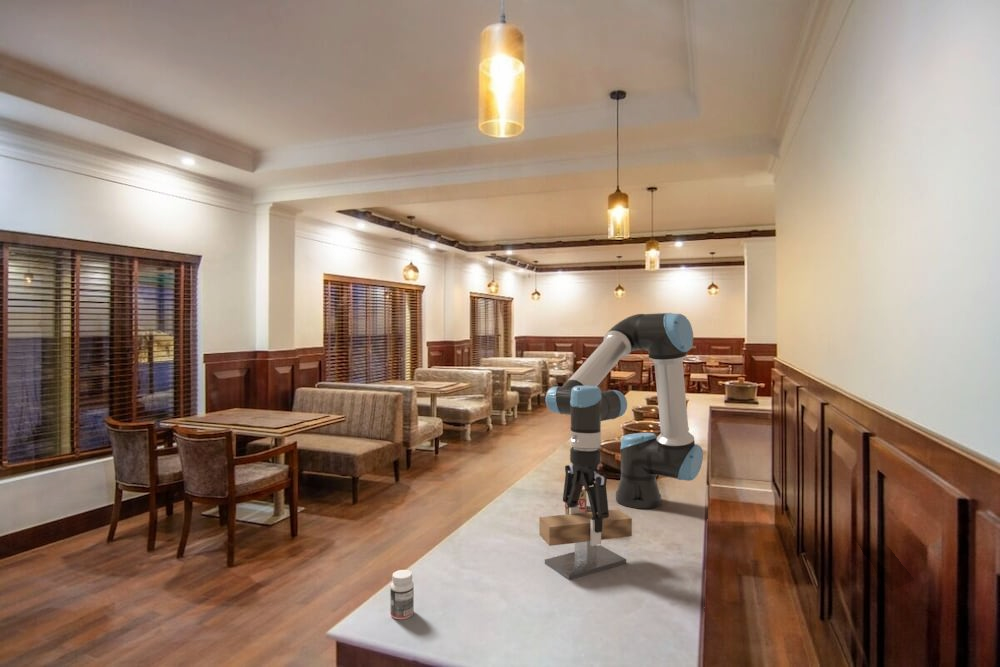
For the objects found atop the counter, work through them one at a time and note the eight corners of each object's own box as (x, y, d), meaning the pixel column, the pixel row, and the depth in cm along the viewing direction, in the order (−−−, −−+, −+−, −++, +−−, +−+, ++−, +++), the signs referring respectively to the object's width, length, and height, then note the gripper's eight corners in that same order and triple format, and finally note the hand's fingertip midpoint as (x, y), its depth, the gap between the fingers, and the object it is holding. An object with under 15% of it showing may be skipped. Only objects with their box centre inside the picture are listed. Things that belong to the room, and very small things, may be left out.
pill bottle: (391, 608, 111) (391, 568, 111) (414, 607, 112) (414, 568, 112) (389, 620, 107) (389, 579, 107) (412, 619, 107) (412, 578, 107)
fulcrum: (600, 548, 142) (600, 522, 142) (626, 563, 133) (626, 535, 133) (544, 563, 133) (544, 535, 133) (568, 579, 124) (568, 550, 124)
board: (618, 526, 139) (618, 509, 139) (631, 536, 132) (631, 518, 132) (539, 535, 133) (539, 517, 133) (549, 545, 127) (549, 527, 126)
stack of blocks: (567, 505, 178) (567, 468, 178) (586, 506, 177) (586, 469, 176) (564, 528, 156) (564, 487, 156) (586, 530, 155) (586, 488, 155)
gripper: (549, 441, 140) (548, 527, 140) (600, 458, 122) (600, 556, 122) (572, 438, 144) (571, 522, 144) (625, 454, 125) (624, 550, 126)
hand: (584, 538), depth 133 cm, fingers closed on board, 8 cm apart
